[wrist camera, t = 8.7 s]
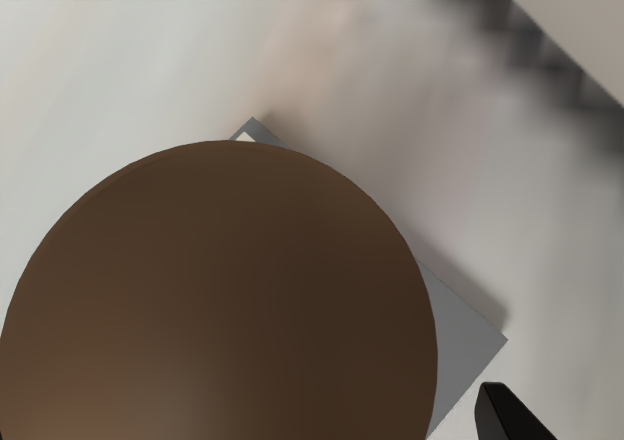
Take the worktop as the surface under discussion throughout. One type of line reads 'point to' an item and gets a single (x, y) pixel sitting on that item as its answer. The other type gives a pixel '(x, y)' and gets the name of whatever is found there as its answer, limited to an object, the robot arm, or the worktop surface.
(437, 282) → the panel
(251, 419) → the mill
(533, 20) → the worktop surface
